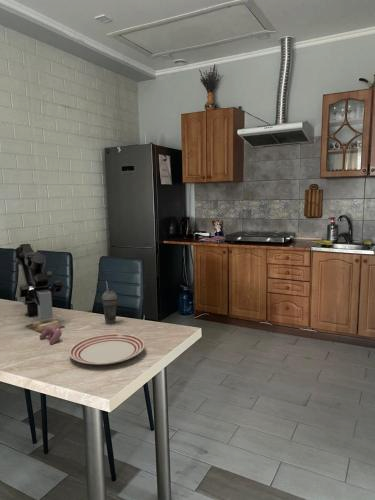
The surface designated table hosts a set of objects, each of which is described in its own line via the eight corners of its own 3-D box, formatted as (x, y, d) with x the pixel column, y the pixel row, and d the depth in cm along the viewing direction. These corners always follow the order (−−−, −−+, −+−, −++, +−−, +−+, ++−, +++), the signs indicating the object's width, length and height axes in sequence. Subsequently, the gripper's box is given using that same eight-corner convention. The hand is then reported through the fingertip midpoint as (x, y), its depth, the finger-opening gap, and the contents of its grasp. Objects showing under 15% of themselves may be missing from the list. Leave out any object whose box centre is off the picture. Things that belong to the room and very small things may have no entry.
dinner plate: (112, 377, 122) (111, 367, 121) (53, 361, 135) (52, 352, 134) (159, 348, 145) (158, 340, 145) (104, 337, 159) (104, 329, 158)
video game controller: (59, 346, 152) (65, 329, 154) (49, 344, 149) (55, 327, 151) (47, 340, 159) (53, 324, 161) (37, 338, 156) (44, 322, 157)
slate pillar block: (38, 317, 172) (36, 291, 170) (49, 315, 174) (48, 290, 173) (41, 320, 167) (39, 294, 166) (52, 318, 170) (51, 292, 169)
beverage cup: (116, 325, 173) (115, 282, 171) (100, 325, 173) (99, 282, 171) (119, 320, 180) (118, 279, 178) (104, 320, 180) (103, 279, 178)
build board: (25, 326, 173) (25, 321, 172) (47, 320, 181) (47, 315, 181) (42, 333, 163) (41, 327, 163) (64, 327, 171) (64, 321, 171)
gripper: (18, 268, 166) (25, 297, 158) (61, 264, 176) (69, 291, 169) (15, 282, 173) (22, 311, 166) (57, 277, 184) (65, 304, 176)
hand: (45, 304), depth 169 cm, fingers closed on slate pillar block, 5 cm apart
